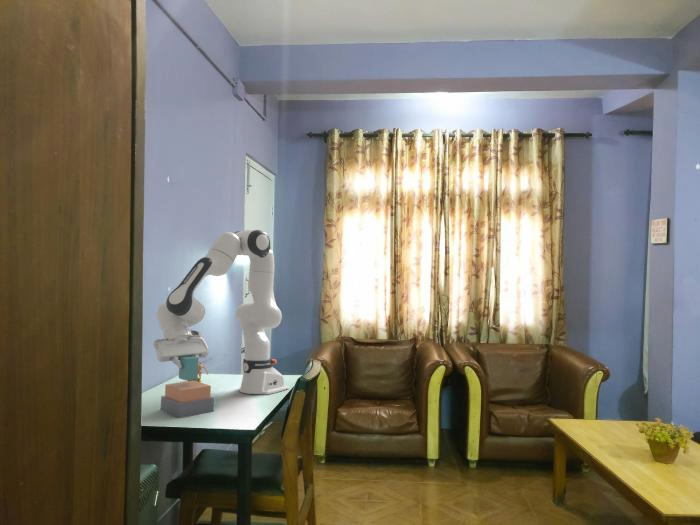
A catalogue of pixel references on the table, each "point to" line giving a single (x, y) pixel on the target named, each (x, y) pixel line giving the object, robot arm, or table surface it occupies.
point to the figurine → (200, 370)
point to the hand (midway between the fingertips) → (189, 367)
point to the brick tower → (187, 399)
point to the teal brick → (189, 368)
